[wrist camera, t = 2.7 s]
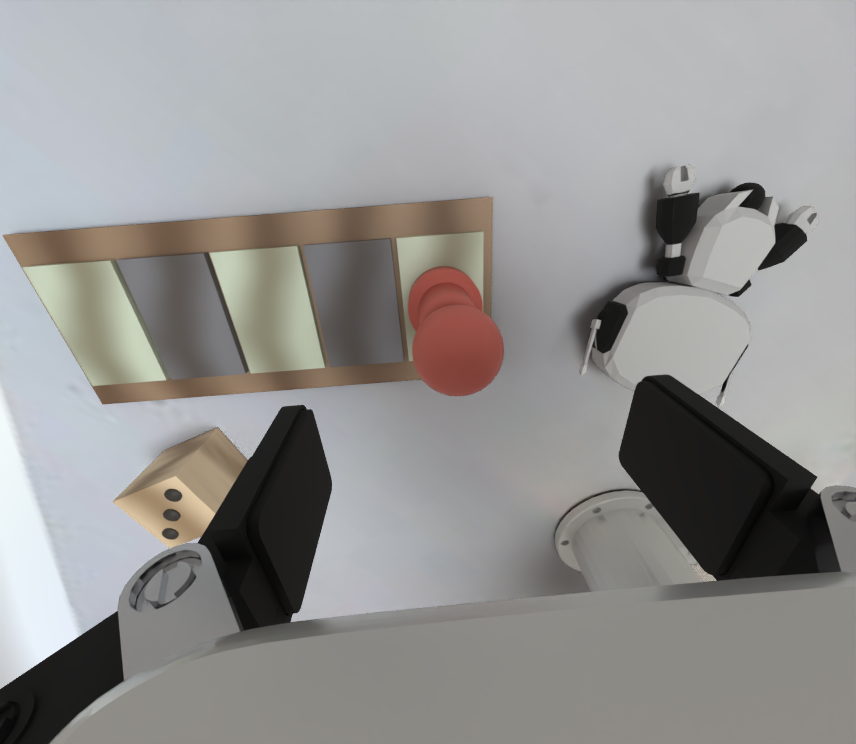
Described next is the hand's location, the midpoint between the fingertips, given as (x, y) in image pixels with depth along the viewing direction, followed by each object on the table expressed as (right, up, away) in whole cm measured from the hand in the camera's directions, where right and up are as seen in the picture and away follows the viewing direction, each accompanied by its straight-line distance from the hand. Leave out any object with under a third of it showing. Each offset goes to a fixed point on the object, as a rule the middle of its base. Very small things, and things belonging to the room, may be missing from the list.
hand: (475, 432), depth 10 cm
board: (-13, +7, +16) cm, 21 cm away
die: (-22, -7, +22) cm, 32 cm away
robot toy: (+17, +8, +17) cm, 25 cm away
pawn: (0, +7, +14) cm, 16 cm away
